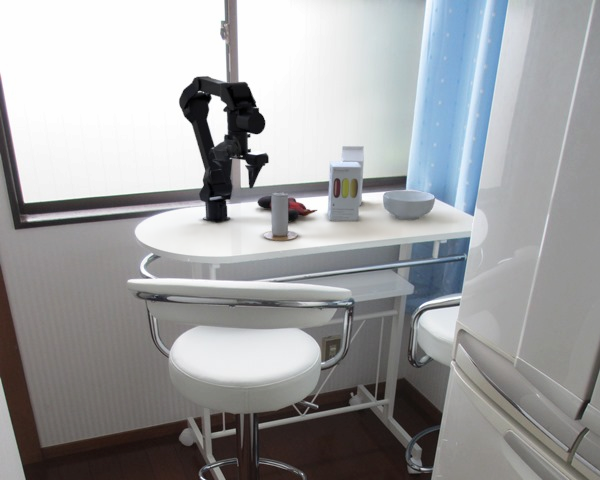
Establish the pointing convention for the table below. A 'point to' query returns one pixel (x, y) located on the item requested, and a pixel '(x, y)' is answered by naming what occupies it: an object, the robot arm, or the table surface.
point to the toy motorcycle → (293, 207)
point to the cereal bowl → (408, 203)
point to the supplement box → (344, 191)
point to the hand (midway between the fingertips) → (239, 186)
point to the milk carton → (354, 160)
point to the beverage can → (279, 214)
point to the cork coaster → (284, 238)
